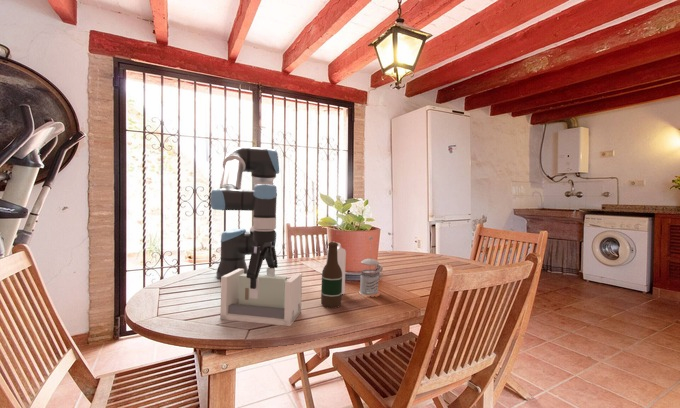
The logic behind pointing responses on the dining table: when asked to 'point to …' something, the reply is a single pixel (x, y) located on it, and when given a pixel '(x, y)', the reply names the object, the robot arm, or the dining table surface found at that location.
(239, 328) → the dining table surface
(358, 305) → the dining table surface
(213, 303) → the dining table surface
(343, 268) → the milk
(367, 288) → the french press
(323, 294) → the beer bottle
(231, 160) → the robot arm
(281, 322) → the cabinet base
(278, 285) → the door panel
